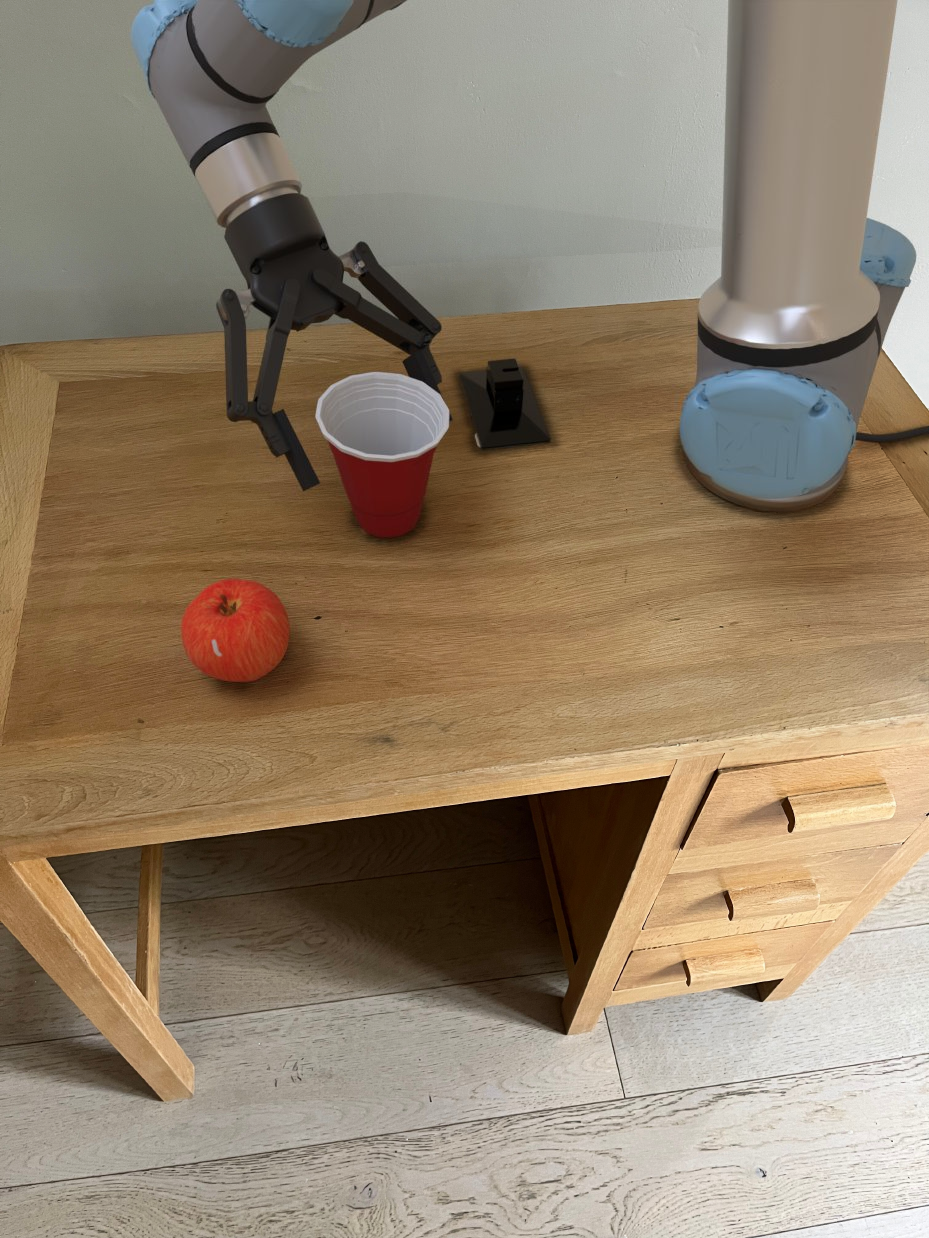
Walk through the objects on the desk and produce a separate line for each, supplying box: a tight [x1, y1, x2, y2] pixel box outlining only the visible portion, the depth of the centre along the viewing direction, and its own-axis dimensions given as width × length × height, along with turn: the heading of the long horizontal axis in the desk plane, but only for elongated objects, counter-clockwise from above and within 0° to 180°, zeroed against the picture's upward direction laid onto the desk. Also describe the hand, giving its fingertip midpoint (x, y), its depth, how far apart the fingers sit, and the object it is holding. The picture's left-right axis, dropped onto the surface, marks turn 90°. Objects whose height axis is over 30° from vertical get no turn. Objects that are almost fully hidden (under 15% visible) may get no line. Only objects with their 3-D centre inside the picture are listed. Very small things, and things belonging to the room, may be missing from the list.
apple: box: [180, 578, 291, 683], centre depth 65 cm, size 8×8×8 cm
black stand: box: [458, 358, 551, 451], centre depth 87 cm, size 12×7×5 cm, turn 11°
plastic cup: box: [315, 371, 450, 538], centre depth 73 cm, size 11×11×12 cm
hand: (380, 455), depth 74 cm, fingers open, 13 cm apart
